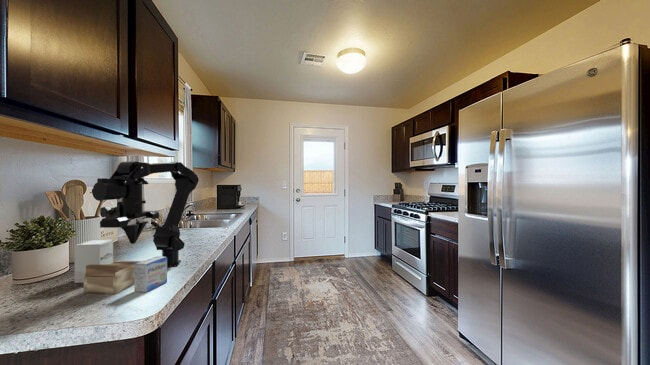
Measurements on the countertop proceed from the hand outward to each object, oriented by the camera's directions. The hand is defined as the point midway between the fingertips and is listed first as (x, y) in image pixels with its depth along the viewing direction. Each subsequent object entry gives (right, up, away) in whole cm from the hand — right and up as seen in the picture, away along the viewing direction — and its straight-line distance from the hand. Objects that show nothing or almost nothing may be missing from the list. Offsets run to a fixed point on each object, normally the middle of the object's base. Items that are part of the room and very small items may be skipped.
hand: (133, 243), depth 85 cm
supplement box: (-14, -13, +1) cm, 19 cm away
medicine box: (+10, -13, -6) cm, 17 cm away
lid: (-1, -7, -6) cm, 9 cm away
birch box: (-1, -12, -5) cm, 14 cm away
